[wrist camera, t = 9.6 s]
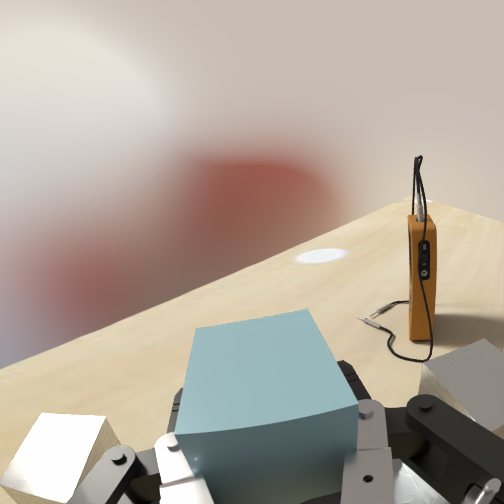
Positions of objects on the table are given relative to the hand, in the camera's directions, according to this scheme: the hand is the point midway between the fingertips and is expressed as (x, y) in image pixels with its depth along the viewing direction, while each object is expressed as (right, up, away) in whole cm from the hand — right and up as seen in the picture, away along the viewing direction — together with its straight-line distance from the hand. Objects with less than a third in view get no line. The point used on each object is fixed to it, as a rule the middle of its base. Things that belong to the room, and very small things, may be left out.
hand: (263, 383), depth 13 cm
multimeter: (+16, -4, +23) cm, 28 cm away
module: (+1, -6, -1) cm, 7 cm away
